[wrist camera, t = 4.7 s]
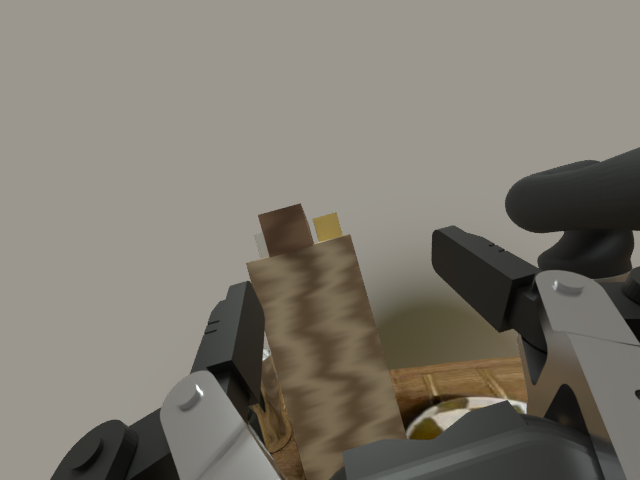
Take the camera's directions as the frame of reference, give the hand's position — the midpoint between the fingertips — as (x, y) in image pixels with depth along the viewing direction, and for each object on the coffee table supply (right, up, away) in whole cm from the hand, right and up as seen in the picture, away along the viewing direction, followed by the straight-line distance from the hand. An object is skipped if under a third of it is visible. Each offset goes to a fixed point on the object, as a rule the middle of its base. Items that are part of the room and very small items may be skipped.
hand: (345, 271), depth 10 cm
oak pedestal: (+5, -31, +27) cm, 41 cm away
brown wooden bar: (-4, 0, +22) cm, 23 cm away
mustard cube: (+1, +2, +30) cm, 30 cm away
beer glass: (-9, -35, +32) cm, 48 cm away
